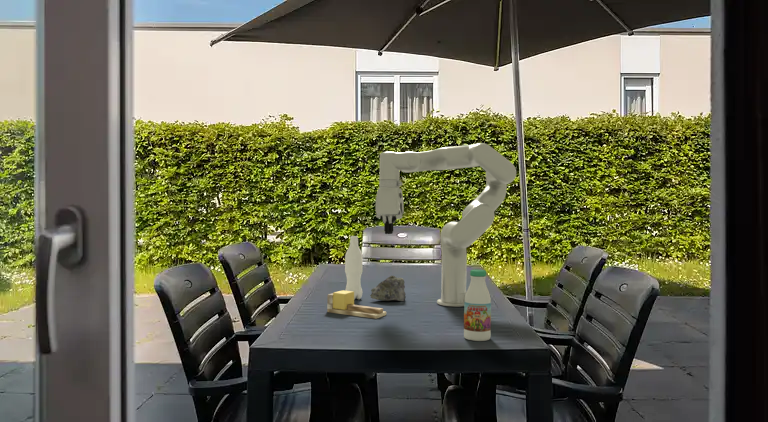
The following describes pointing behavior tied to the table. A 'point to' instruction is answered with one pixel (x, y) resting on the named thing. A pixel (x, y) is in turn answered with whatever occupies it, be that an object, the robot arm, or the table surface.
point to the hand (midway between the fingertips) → (388, 233)
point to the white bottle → (354, 267)
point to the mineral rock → (389, 290)
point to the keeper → (343, 299)
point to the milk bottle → (477, 308)
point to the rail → (357, 313)
